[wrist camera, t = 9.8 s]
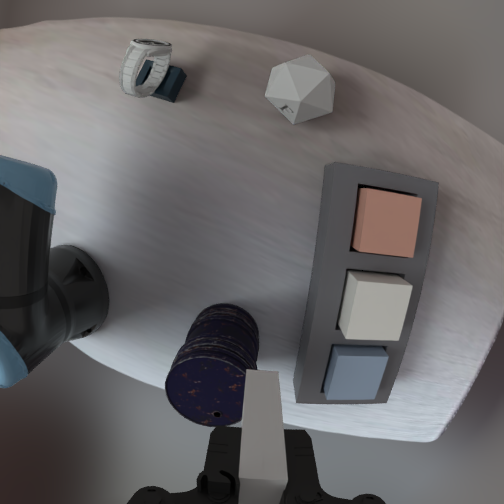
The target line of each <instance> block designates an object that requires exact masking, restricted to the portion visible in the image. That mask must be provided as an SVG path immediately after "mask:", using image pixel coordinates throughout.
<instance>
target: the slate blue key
mask: <svg viewBox="0 0 504 504" xmlns="http://www.w3.org/2000/svg"><path fill="white" fill-rule="evenodd" d="M388 358H389V356H388V355H387V353H386V352H385V350H384V349H383V347H382V346H378V345H347V344H332V345H331V350H330V354H329V358H328V362H327V367H326V371H325V375H324V379H323V383H322V385H323V389H324V392H325V396H326V400H369V399H375V396H376V394H377V391H378V388H379V385H380V382H381V379H382V376H383V373H384V370H385V367H386V364H387V361H388Z"/></svg>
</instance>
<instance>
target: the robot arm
mask: <svg viewBox="0 0 504 504" xmlns="http://www.w3.org/2000/svg"><path fill="white" fill-rule="evenodd" d="M56 191H57V179H56V177H55V175H54V173H53V172H52V171H50V170H49V169H47V168H44V167H41V166H38V165H35V164H31V163H28V162H24V161H21V160H17V159H13V158H10V157H6V156H2V155H0V388H8V387H11V386H12V385H14V384H15V383H17V382H18V381H19V380H21V379H23V378H26V377H27V375H28V374H29V373H30V372H31V371H32V370H33V369H34V368H35V367H36V366H38V365H39V364H40V363H41V362H42V361H43V360H44V359H45V358H46V357H48V356H49V355H50V354H51V353H52V352H53V351H54V350H55V349H56V348H58V347H59V346H60V345H61V344H62V343H63V342H66V341H71V340H75V339H80V338H84V337H86V336H88V335H90V334H92V333H93V332H94V331H95V330H96V329H97V328H99V327H100V326H101V324H102V323H103V322H104V320H105V318H106V315H107V312H108V306H109V297H108V290H107V286H106V282H105V280H104V277H103V275H102V273H101V271H100V269H99V268H98V266H97V265H96V263H95V262H94V261H93V260H92V259H91V258H90V257H89V256H88V255H87V254H86V253H85V252H83V251H82V250H80V249H78V248H76V247H73V246H68V245H61V246H56V247H53V248H51V249H50V246H51V236H52V227H53V220H54V215H56V210H55V200H56ZM127 504H385V502H384V501H383V500H382V499H381V498H380V497H378V496H376V495H373V494H363V495H359V496H357V497H355V498H354V499H353V500H348V499H342V498H336V497H333V496H331V495H329V494H327V493H326V492H324V491H323V489H322V488H321V486H320V484H319V479H318V474H317V468H316V462H315V457H314V451H313V446H312V440H311V438H310V436H309V435H308V434H307V432H306V431H305V430H289V429H288V430H287V429H284V428H283V417H282V406H281V395H280V384H279V373H278V371H262V370H249V369H247V370H246V381H245V392H244V403H243V414H242V427H241V428H239V427H228V426H218V425H217V426H216V428H215V429H214V430H213V431H212V432H211V434H210V440H209V445H208V450H207V455H206V461H205V466H204V471H202V472H201V473H200V474H199V476H198V478H197V487H196V488H195V489H193V490H190V491H187V492H182V493H181V492H180V493H169V492H168V491H166V490H164V489H163V488H160V487H156V486H150V487H149V486H147V487H144V488H141V489H139V490H138V491H137V492H136V493H135V494H134V495H133V496H132V498H131V499H130V500H129V502H128V503H127Z"/></svg>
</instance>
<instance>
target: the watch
mask: <svg viewBox="0 0 504 504" xmlns="http://www.w3.org/2000/svg"><path fill="white" fill-rule="evenodd" d="M171 47H172V44H170V43H167V42H164V41H159V40H153V39H135V40H132V42H131V44H130V46H129V47H128V49H127V53H126V56H125V57H124V59H123V62H122V65H121V69H120V70H121V71H120V74H119V81H120V87H121V89H122V91H123V92H125V94H128V95H131V96H135V97H138V98H143V97H147V96H153V97H156V98H160V99H163V100H166V101H169V102H173V103H174V102H175V100H176V97H177V95H178V93H179V91H180V89H181V87H182V85H183V83H184V81H185V79H186V77H187V75H186V74H185V73H184V71H183V70H182V69H181V68H178V67H174V66H170V65H169V63H170V57H171V52H172V48H171ZM145 56H146V57H151V56H155V57H154V61H150V60H146V61H145V63H144V65H143V67H142V69H141V71H140V73H139V75H138V77H137V73H138V70H139V67H138V66H140V65H141V63H142V61H143V59H144V58H145ZM124 63H125V64H124ZM166 64H167V65H166ZM127 66H128V67H127ZM131 67H132V68H131ZM136 77H137V79H136Z"/></svg>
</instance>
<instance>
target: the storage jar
mask: <svg viewBox="0 0 504 504" xmlns="http://www.w3.org/2000/svg"><path fill="white" fill-rule="evenodd" d="M258 334H259V333H258V327H257V324H256V322H255V320H254V319H253V318H252V316H251V315H250V314H249V313H248V312H247V311H245V310H244V309H242V308H240V307H238V306H235V305H232V304H216V305H212V306H210V307H207V308H206V309H204V310H203V311H202V312H201V313H200V314H199V315H198V317H197V318H196V320H195V321H194V323H193V324H192V326H191V328H190V330H189V332H188V335H187V337H186V341H185V344H184V345H183V346H182V347H181V348H180V350H179V351H178V353H177V355H176V357H175V359H174V361H173V364H172V366H171V369H170V371H169V373H168V376H167V378H166V382H165V391H166V395H167V398H168V400H169V402H170V404H171V405H172V406H173V408H174V409H175V410H176V411H177V412H178V413H179V414H180V415H182V416H183V417H184V418H186V419H188V420H189V421H192V422H194V423H196V424H200V425H203V426H208V427H216V426H217V425H218V426H230V425H233V424H236V423H238V422H240V421H241V420H242V414H243V403H244V392H245V381H246V370H247V369H249V370H257V365H256V361H257V356H258V350H259V338H258Z"/></svg>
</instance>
